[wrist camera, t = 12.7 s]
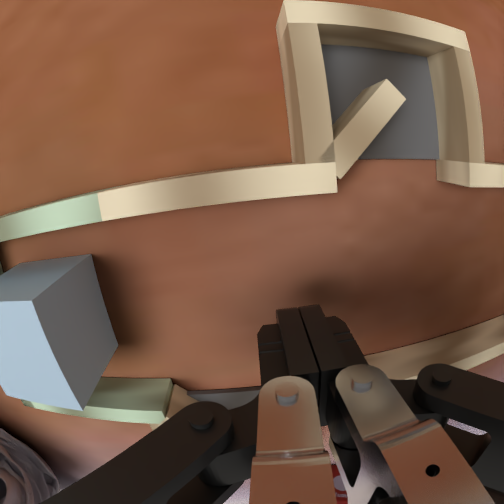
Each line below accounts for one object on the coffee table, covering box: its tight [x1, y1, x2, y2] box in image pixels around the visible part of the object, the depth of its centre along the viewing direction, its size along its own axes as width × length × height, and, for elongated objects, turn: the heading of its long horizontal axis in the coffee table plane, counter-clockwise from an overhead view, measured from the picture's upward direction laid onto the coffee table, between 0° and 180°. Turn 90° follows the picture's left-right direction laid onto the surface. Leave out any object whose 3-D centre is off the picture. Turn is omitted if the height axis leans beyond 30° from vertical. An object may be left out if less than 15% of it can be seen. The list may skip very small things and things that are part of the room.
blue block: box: [0, 254, 118, 411], centre depth 11 cm, size 5×5×5 cm
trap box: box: [0, 0, 504, 430], centre depth 12 cm, size 34×23×2 cm
